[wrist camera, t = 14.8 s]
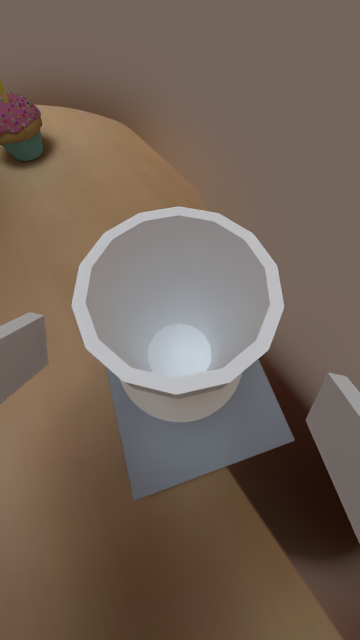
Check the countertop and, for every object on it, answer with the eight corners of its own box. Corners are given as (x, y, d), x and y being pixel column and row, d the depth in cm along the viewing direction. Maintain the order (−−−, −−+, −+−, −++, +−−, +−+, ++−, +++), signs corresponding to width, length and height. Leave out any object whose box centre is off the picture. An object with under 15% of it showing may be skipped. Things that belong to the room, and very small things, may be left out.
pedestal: (98, 300, 29) (89, 286, 26) (208, 269, 30) (212, 253, 27) (139, 490, 22) (132, 502, 19) (281, 437, 23) (296, 440, 20)
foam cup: (203, 427, 21) (235, 440, 9) (111, 379, 22) (28, 331, 10) (242, 333, 24) (306, 245, 12) (159, 296, 25) (140, 185, 13)
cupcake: (62, 137, 40) (17, 30, 29) (44, 172, 37) (-14, 68, 26) (12, 133, 41) (-50, 26, 30) (-9, 167, 38) (-88, 62, 27)
